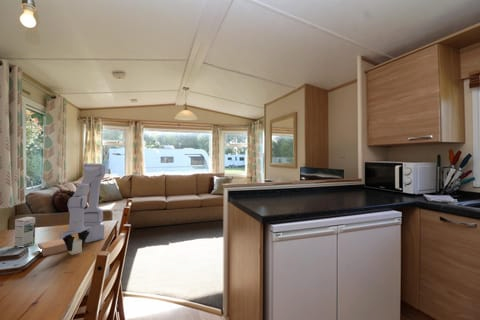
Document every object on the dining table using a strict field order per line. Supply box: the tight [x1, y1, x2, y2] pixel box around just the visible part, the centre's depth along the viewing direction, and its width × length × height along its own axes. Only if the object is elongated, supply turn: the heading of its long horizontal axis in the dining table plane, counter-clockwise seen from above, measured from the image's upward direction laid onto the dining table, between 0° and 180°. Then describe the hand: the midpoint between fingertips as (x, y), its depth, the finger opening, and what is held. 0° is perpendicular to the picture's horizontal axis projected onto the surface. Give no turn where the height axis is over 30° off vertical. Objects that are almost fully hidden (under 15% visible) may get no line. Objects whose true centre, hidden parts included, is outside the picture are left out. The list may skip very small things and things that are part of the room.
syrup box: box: [13, 216, 36, 247], centre depth 118 cm, size 6×6×14 cm
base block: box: [37, 238, 67, 257], centre depth 112 cm, size 10×10×4 cm
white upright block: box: [68, 238, 83, 256], centre depth 110 cm, size 4×4×6 cm
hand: (75, 248), depth 110 cm, fingers closed on white upright block, 5 cm apart
